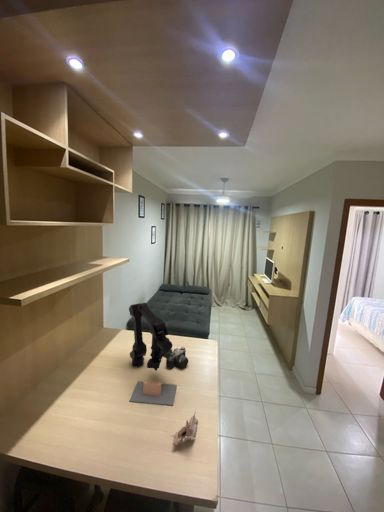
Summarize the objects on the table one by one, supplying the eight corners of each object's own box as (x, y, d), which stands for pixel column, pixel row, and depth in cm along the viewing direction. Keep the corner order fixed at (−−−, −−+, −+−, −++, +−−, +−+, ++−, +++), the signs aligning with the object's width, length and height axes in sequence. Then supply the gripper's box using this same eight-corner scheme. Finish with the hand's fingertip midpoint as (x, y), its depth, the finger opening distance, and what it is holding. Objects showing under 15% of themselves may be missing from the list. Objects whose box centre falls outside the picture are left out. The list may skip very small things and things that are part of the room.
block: (143, 394, 113) (143, 383, 112) (144, 391, 115) (144, 380, 114) (160, 395, 113) (160, 385, 112) (161, 392, 115) (161, 382, 114)
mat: (129, 401, 108) (129, 400, 108) (137, 382, 122) (137, 381, 122) (173, 405, 107) (173, 404, 107) (176, 385, 121) (176, 384, 121)
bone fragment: (187, 420, 102) (200, 405, 100) (197, 435, 98) (211, 420, 96) (167, 436, 89) (182, 419, 87) (178, 454, 85) (193, 437, 84)
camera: (175, 375, 130) (176, 359, 129) (164, 367, 137) (164, 352, 136) (192, 363, 142) (193, 349, 141) (181, 357, 149) (182, 343, 148)
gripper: (168, 354, 110) (167, 383, 112) (173, 336, 128) (172, 361, 130) (147, 352, 110) (146, 381, 112) (155, 335, 129) (154, 359, 131)
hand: (155, 370), depth 121 cm, fingers closed
